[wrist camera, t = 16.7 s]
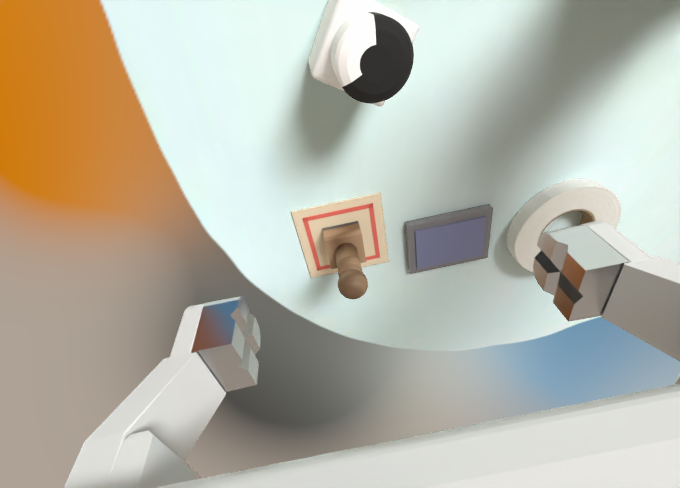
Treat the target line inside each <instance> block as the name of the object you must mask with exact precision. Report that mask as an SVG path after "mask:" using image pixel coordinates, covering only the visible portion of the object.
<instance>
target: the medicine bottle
mask: <svg viewBox="0 0 680 488" xmlns="http://www.w3.org/2000/svg"><path fill="white" fill-rule="evenodd" d="M418 30H419V27H418V25H417V24H416V23H414V22H412V21H410V20H409V19H407V18H405V17H403V16H401V15H399V14H397V13H396V12H394V11H392V10H390V9H388V8H386V7H384V6H383V5H381V4H379V3H377V2H375V1H373V0H328V3H327V6H326V9H325V12H324V15H323V18H322V21H321V24H320V26H319V29H318V32H317V35H316V38H315V41H314V44H313V47H312V50H311V53H310V56H309V59H308V62H309V66H310V70H311V74H312V77H313V78H314V79H317V80H319V81H321V82H323V83H326V84H328V85H330V86H333V87H335V88H337V89H340V90H342V91H344V92H346V93H347V94H348V95H349V96H351V97H352V98H354V99H356V100H358V101H360V102H364V103H372V104H374V105H377V106H382V105H383V104H384V102H385V100H387V99H389V98H391V97H392V96H394V95H395V94H396V93H397V92H398V91H399V90H400V89H401V88H402V87H403V86H404V84H405V83H406V81H407V80H408V77H409V75H410V73H411V69H412V65H413V57H414V55H413V46H412V43H413V41H414V39H415V37H416V35H417V32H418Z"/></svg>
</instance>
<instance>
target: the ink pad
mask: <svg viewBox="0 0 680 488" xmlns="http://www.w3.org/2000/svg"><path fill="white" fill-rule="evenodd" d="M492 212H493V208H492V207H491V206H490V205H489V204H488V205H483V206H478V207H474V208H469V209H464V210H459V211H455V212H450V213H445V214H440V215H436V216H431V217H426V218H422V219H417V220H412V221H407V222H405V226H406V240H407V254H408V268H409V271H410V273H411V274H412V273H417V272H421V271H426V270H431V269H436V268H441V267H445V266H450V265H455V264H460V263H464V262H469V261H474V260H479V259H484V258H487V257H488V248H489V239H490V230H491V221H492Z"/></svg>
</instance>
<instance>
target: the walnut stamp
mask: <svg viewBox="0 0 680 488" xmlns="http://www.w3.org/2000/svg"><path fill="white" fill-rule="evenodd" d="M322 229H323V236H324V242H325V246H326V250H327V254H328V258H329V262H330V266H331V269H335V268H338V274H339V280H338V288H339V291H340V292H341V294H342V295H343V296H345V297H346V298H349V299H357V298H360V297H361V296H362V295H364V293H365V292H366V290H367V287H368V282H367V278H366V276H365V275H364V274H363V272H362V268H361V264H360V263H363V262H366V257H365V251H364V244H363V238H362V233H361V229H360V226H359V222H358V221H355V222H350V223H345V224H341V225H336V226H331V227H326V228H322Z"/></svg>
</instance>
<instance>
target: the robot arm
mask: <svg viewBox="0 0 680 488" xmlns="http://www.w3.org/2000/svg"><path fill="white" fill-rule="evenodd" d="M537 246H538V247H539V248H540V249H541V251H540V252H539V253H538V254H537V255H536V257H535V258H534V264H533V270H534V275H535V278H536V280H537V282H538V284H539V285H540V286H541V288H542V289H543V290H544V291H546V292H548V293H550V294H553V295H554V300H553V303H554V304H555V305H556V307H557V308H558V309H559V310H560V312H561V313H562V314H563V315H564V317H565V318H566V319H567V320H568V321H574V320H579V319H585V318H591V317H596V316H602V318H604V319H606V320H607V321H609V322H611V323H613V324H615V325H617V326H618V327H620V328H622V329H623V330H625V331H627V332H629V333H631V334H632V335H634V336H636V337H638V338H639V339H641V340H643V341H645V342H646V343H648V344H650V345H652V346H654V347H655V348H657V349H659V350H661V351H663V352H664V353H666V354H668V355H669V356H671V357H673V358H675V359H677V360H678V361H680V263H677V262H674V261H671V260H668V259H664V258H661V257H654V258H652V257H650V256H649V255H648V254H647V253H645V252H644V251H643V250H641V249H640V248H639V247H638V246H636V245H635V244H634V243H633V242H631V241H630V240H629V239H627V238H626V237H625V236H624V235H622V234H621V233H620V232H618V231H617V230H616V229H615V228H613V227H612V226H611V225H610V224H608V223H607V222H604V221H601V220H599V221H594V222H590V223H585V224H581V225H578V226H573V227H568V228H564V229H559V230H554V231H550V232H545V233H542V234H541V235H540V237H539V239H538V243H537ZM248 308H249V305H248V303H247V301H246V299H245V297H235V298H230V299H224V300H219V301H214V302H208V303H205V304H199V305H194V306H189V307H188V308H187V309H186V310H185V311H184V314H183V317H182V320H181V324H180V326H179V329H178V333H177V336H176V339H175V342H174V345H173V349H172V351H171V354H170V357H169V358H165V359H163V360H162V361H161V362H160V363H159V364H158V365H157V367H156V368H155V369H154V370H153V371H152V372H151V373H150V374H149V375H148V376H147V377H146V378H145V379H144V380H143V381H142V382H141V383H140V384H139V386H137V387H136V389H134V391H133V392H132V393H131V394H130V395H129V396H128V397H127V398H126V399H125V400H124V401H123V402H122V403H121V404H120V405H119V406H118V407H117V408H116V409H115V410H114V411H113V412H112V413H111V415H110V416H109V417H108V418H107V419H106V420H105V421H104V422H103V423H102V424H101V425H100V426H99V427H98V428H97V429H96V430H95V431H94V432H93V433H92V434H91V436H89V437H88V439H87V440H86V441H85V442H84V444H83V446H82V449H81V451H80V453H79V455H78V457H77V460H76V462H75V464H74V467H73V469H72V471H71V473H70V476H69V478H68V480H67V482H66V484H65V487H64V488H680V374H679V375H678V377H677V379H676V385H671V386H666V387H661V388H656V389H651V390H646V391H641V392H636V393H630V394H625V395H621V396H615V397H611V398H605V399H600V400H595V401H590V402H585V403H580V404H575V405H569V406H564V407H559V408H554V409H549V410H544V411H539V412H534V413H529V414H524V415H519V416H514V417H508V418H503V419H498V420H493V421H488V422H483V423H478V424H473V425H468V426H463V427H458V428H453V429H448V430H443V431H438V432H433V433H428V434H423V435H418V436H412V437H407V438H403V439H398V440H392V441H387V442H382V443H377V444H372V445H367V446H362V447H357V448H352V449H347V450H342V451H337V452H332V453H326V454H321V455H316V456H311V457H306V458H301V459H297V460H291V461H287V462H281V463H276V464H271V465H266V466H261V467H256V468H251V469H246V470H241V471H236V472H231V473H226V474H220V475H215V476H211V477H205V478H201V477H200V476H199V475H198V473H197V472H196V471H195V470H193V469H192V468H191V467H190V466H189V465H188V464H187V463H185V462H184V461H185V460H186V458H187V456H188V455H189V453H190V451H191V450H192V448H193V447H194V445H195V444H196V442H197V440H198V438H199V437H200V435H201V434H202V432H203V431H204V429H205V427H206V426H207V424H208V422H209V421H210V419H211V417H212V416H213V414H214V413H215V411H216V410H217V407H218V406H219V405H220V403H221V401H222V400H223V398H224V397H225V395H226V392H228V391H232V390H236V389H240V388H245V387H249V386H254V385H257V376H258V365H259V362H258V360H257V359H256V357H255V354H256V353H257V352H258V351H259V349H260V331H259V326H258V324H257V321H256V319H255V316H253V315H252V314H249V313H248Z"/></svg>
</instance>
